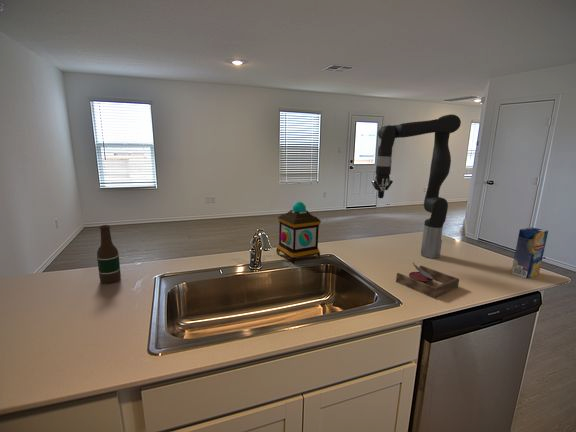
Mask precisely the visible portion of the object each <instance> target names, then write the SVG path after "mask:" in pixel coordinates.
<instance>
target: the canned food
mask: <svg viewBox="0 0 576 432" xmlns="http://www.w3.org/2000/svg"><path fill="white" fill-rule="evenodd" d="M412 264H413V266H414V268H415V270H417V271H413V272H409V274H408V277H410V278H413V279H415V280H418V281H420V282H423V283H425V284H427V285H430V286H432V287H433V282H434V279H433V277H432V276H431V275H429V274H428V273H426V272H425V271H423V270H422V269H420V268H419V267H420V266H417V265H416V264H415V263H414V262H412Z"/></svg>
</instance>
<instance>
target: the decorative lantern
mask: <svg viewBox="0 0 576 432" xmlns="http://www.w3.org/2000/svg"><path fill="white" fill-rule="evenodd" d="M289 210H290V211H288V212H286V213H282V214H281V215H279V216H278V217H277V220H278V222H279V228H278V229H279V230H278V231H279V232H278V233H279V234H278V236H279V237H278V238H279V239H278V245H277V247H276V251H275V252H276V254H277V255H280V253H282V254H284V255H286V256H287V257H289V258H290V260H291V264H294V263H295V261H296V259H301V258H306V257H311V256H315V255H316V259H320V258H321V251H320V249H319V228H320V227H319V226H320V224H321V222H322V220H320V218H318V217H317V216H314V215H313V214H311V213H310V212H309V211H308V210H307V207H306V205H305V204H304V202H302V201H297V202H295V203H294V204H293V206H292V209H289Z"/></svg>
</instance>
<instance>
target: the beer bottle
mask: <svg viewBox="0 0 576 432" xmlns="http://www.w3.org/2000/svg"><path fill="white" fill-rule="evenodd" d="M99 229H100V246H99V247H98V249H97V252H96V258H97V259H96V260H97V261H96V262H97V266H98V276H99V282H100V283H102V285H106V284H107V285H111V284H114V283H117V282H119V281H120V280H121V278H122V275H121V265H120V257H119V256H120V254H119V250H118V248H117V247H116V246H115V244H114V243H113V240H112V236H111V235H112V234H111V230H110V229H111V227H110V225H109V224H103V225H101V226H99Z"/></svg>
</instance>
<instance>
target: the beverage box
mask: <svg viewBox="0 0 576 432" xmlns="http://www.w3.org/2000/svg"><path fill="white" fill-rule="evenodd" d="M548 234H549V230H546V229H541V228H537V227H527V228H521V229H519V232H518V237H517V242H516V248H515V252H514V257H513V262H512V269H511V271H510V272H511V274H512V275H515V276H518V277H522V278H525V279H530V278H533V277H536V276H538V275H540V271H541V266H542V262H543V257H544V253H545V248H546V243H547V239H548V236H549V235H548Z"/></svg>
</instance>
